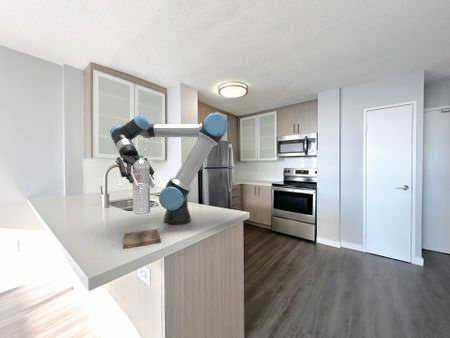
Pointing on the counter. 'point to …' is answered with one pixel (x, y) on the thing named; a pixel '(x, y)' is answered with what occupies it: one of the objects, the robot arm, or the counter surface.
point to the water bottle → (141, 187)
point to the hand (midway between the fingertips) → (145, 187)
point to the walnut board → (141, 238)
